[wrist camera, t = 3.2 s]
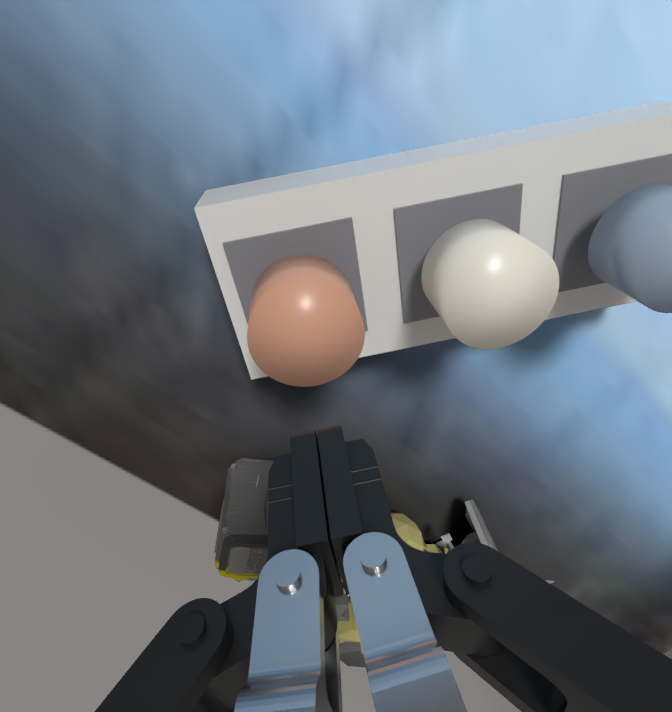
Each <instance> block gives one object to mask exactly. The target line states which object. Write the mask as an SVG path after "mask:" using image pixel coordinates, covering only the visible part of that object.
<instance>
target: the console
mask: <svg viewBox="0 0 672 712" xmlns="http://www.w3.org/2000/svg"><path fill="white" fill-rule="evenodd" d="M654 183H662V184H668V185H672V103H661V102H652V103H647V104H641V105H636V106H631V107H626V108H621V109H616V110H611V111H606V112H601V113H596V114H591V115H586V116H581V117H575V118H570V119H565V120H560V121H555V122H550V123H545V124H540V125H535V126H530V127H525V128H520V129H515V130H510V131H504V132H499V133H494V134H489V135H484V136H479V137H474V138H469V139H464V140H459V141H454V142H449V143H444V144H439V145H433V146H428V147H423V148H418V149H413V150H408V151H403V152H398V153H393V154H388V155H383V156H378V157H373V158H367V159H362V160H357V161H352V162H347V163H342V164H337V165H332V166H327V167H322V168H317V169H312V170H307V171H302V172H296V173H291V174H286V175H281V176H276V177H271V178H266V179H261V180H256V181H251V182H246V183H241V184H236V185H231V186H225V187H220V188H215V189H210V190H206V191H205V192H204V194H203V195H202V197H201V198H200V200H199V201H198V203H197V205H196V206H195V208H194V210H195V213H196V216H197V218H198V221H199V224H200V227H201V230H202V233H203V236H204V239H205V242H206V245H207V248H208V251H209V254H210V257H211V260H212V263H213V266H214V269H215V272H216V275H217V278H218V281H219V284H220V287H221V290H222V293H223V296H224V299H225V302H226V305H227V308H228V311H229V314H230V317H231V320H232V323H233V326H234V329H235V332H236V335H237V338H238V341H239V344H240V347H241V350H242V353H243V356H244V359H245V362H246V365H247V368H248V371H249V374H250V377H251V380H252V379H257V378H262V377H267V376H268V375H267V374H265V373H264V372H263V371H262V370H261V369H260V368H259V367H258V366H257V365H256V363H255V362H254V360H253V358H252V357H251V354H250V352H249V348H248V344H247V330H248V321H249V312H250V303H251V295H252V290H253V287H254V284H255V282H256V281H257V279H258V277H259V276H260V274H261V273H262V272H263V271H264V270H265V269H266V268H267V267H268V266H270V265H271V264H272V263H274V262H276V261H277V260H280V259H282V258H284V257H288V256H292V255H313V256H317V257H320V258H323V259H325V260H327V261H329V262H331V263H332V264H334V265H335V266H336V267H338V268H339V269H340V270H341V271H342V273H343V274H344V275H345V277H346V278H347V280H348V282H349V284H350V287H351V290H352V292H353V295H354V298H355V300H356V303H357V306H358V308H359V311H360V314H361V317H362V319H363V323H364V327H365V340H364V345H363V348H362V351H361V353H360V355H359V357H358V358H360V357H365V356H370V355H375V354H380V353H385V352H390V351H395V350H400V349H405V348H410V347H414V346H419V345H424V344H429V343H434V342H439V341H444V340H449V339H454V338H456V337H455V336H454V335H453V334H452V333H451V331H450V330H449V328H448V327H447V325H446V324H445V323H444V321H443V320H442V318H441V317H440V316H439V314H438V313H437V311H436V310H435V309H434V307H433V306H432V304H431V303H430V302H429V300H428V299H427V297H426V295H425V293H424V290H423V287H422V280H421V277H422V267H423V264H424V260H425V258H426V255H427V253H428V252H429V250H430V248H431V247H432V245H433V244H434V243H435V241H436V240H437V239H438V238H439V237H440V236H441V235H442V234H443V233H445V232H446V231H447V230H449V229H450V228H452V227H453V226H455V225H457V224H459V223H462V222H464V221H468V220H473V219H490V220H494V221H497V222H499V223H501V224H503V225H505V226H506V227H508V228H509V229H511V230H513V231H514V232H516V233H518V234H519V235H521V236H522V237H524V238H526V239H527V240H529V241H531V242H532V243H534V244H535V245H537V246H539V247H540V248H542V249H543V250H545V251H546V252H547V253H548V254H549V255H550V256H551V257H552V259H553V260H554V262H555V264H556V266H557V269H558V273H559V290H558V295H557V298H556V301H555V303H554V306H553V308H552V310H551V311H550V313H549V315H548V316H547V317H546V319H545V320H547V319H552V318H557V317H562V316H567V315H572V314H577V313H582V312H587V311H592V310H597V309H601V308H606V307H611V306H616V305H621V304H626V303H631V302H636V300H635V299H633V298H631V297H630V296H628V295H626V294H625V293H623V292H621V291H620V290H618V289H616V288H615V287H613V286H611V285H610V284H608V283H606V282H605V281H603V280H601V279H600V278H599V277H597V276H596V275H595V274H594V272H593V271H592V269H591V267H590V264H589V260H588V246H589V242H590V238H591V235H592V233H593V231H594V228H595V226H596V225H597V223H598V221H599V220H600V218H601V217H602V216H603V214H604V213H605V212H606V211H607V209H608V208H609V207H610V206H611V205H612V204H613V203H614V202H616V201H617V200H618V199H619V198H621V197H622V196H623V195H625V194H626V193H628V192H630V191H632V190H634V189H636V188H638V187H641V186H644V185H648V184H654Z"/></svg>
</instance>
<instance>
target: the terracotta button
mask: <svg viewBox="0 0 672 712" xmlns="http://www.w3.org/2000/svg"><path fill="white" fill-rule="evenodd" d="M364 340H365V327H364V323H363V319H362V317H361V314H360V311H359V308H358V306H357V303H356V300H355V298H354V295H353V292H352V290H351V287H350V284H349V282H348V280H347V278H346V277H345V275H344V274H343V273H342V271H341V270H340V269H339V268H338V267H336V266H335V265H334V264H332V263H331V262H329V261H327V260H325V259H323V258H320V257H317V256H313V255H292V256H288V257H284V258H282V259H280V260H277V261H276V262H274V263H272V264H271V265H270V266H268V267H267V268H266V269H265V270H264V271H263V272H262V273H261V274H260V276H259V277H258V279H257V281H256V282H255V284H254V287H253V290H252V295H251V303H250V312H249V321H248V330H247V344H248V348H249V352H250V354H251V357H252V358H253V360H254V362H255V363H256V365H257V366H258V367H259V368H260V369H261V370H262V371H263V372H264V373H265V374H267V375H268V376H269V377H271V378H273V379H274V380H276V381H279V382H281V383H284V384H287V385H292V386H300V387H309V386H317V385H321V384H325V383H327V382H330V381H332V380H334V379H336V378H338V377H340V376H341V375H343V374H344V373H345V372H346V371H348V370H349V369H350V368H351V367H352V366H353V365H354V363H355V362H356V360H357V359H358V357H359V355H360V353H361V351H362V348H363V345H364Z"/></svg>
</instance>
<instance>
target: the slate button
mask: <svg viewBox="0 0 672 712" xmlns="http://www.w3.org/2000/svg"><path fill="white" fill-rule="evenodd" d="M588 260H589V264H590V267H591V269H592V271H593V272H594V274H595V275H596V276H597V277H599V278H600V279H601V280H603V281H605V282H606V283H608V284H610V285H611V286H613V287H615V288H616V289H618V290H620V291H621V292H623V293H625V294H626V295H628V296H630V297H631V298H633V299H635V300H636V301H638V302H640V303H641V304H643V305H645V306H646V307H648V308H650V309H652V310H654V311H657V312H662V313H672V185H668V184H662V183H654V184H648V185H644V186H641V187H638V188H636V189H634V190H632V191H630V192H628V193H626V194H625V195H623V196H622V197H621V198H619V199H618V200H617V201H616V202H614V203H613V204H612V205H611V206H610V207H609V208H608V209H607V211H606V212H605V213H604V214H603V216H602V217H601V218H600V220H599V221H598V223H597V225H596V226H595V228H594V231H593V233H592V235H591V238H590V242H589V246H588Z"/></svg>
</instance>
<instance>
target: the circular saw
mask: <svg viewBox="0 0 672 712" xmlns="http://www.w3.org/2000/svg"><path fill="white" fill-rule="evenodd" d="M273 462H274V461H271V460H261V459H251V458H240V459H238V460H236V461H235V463H234V464H232V465H231V467H230V468H229V469H228V473H227V480H226V487H225V495H224V501H223V505H222V510H221V515H220V521H219V527H218V534H217V540H216V546H215V553H216V557H215V566H216V568H217V569H219V573H220V575H222V576H225V577H231V578H233V579H235V580H236V581H238V582H240V581H242V580H243V579H245V580H257V579H258V577H259V576H260V573H261V571H262V569H263V567H264V566H265V564H266V561H267V555H268V505H269V502H268V491H269V489H268V472H269V470H270V468H271V466H272V464H273ZM465 505H466V507H467V508H466V509H465V510H466V514H465V516H466V518H467V520H468V522H469V524H470V525H471V527H472V529H473V531H474V532H473V533H470V534H468V535H467V536H466V538H465V539H464V540H463V541H462V544H463V543H468V542H476V543H481V544H485V545H487V546H489V547H491V548H493V549H495V550H496V551H498V550H497V548H496V546H495V544H494V541H493V539H492V537H491V535H490V533H489V531H488V529H487V527H486V524H485V522H484V520H483V518H482V516H481V514H480V512H479V509H478V507H477V505H475V502H474V500H473V499H472V500H469V501H466V502H465ZM391 516H392V520H393V523H394V527H395V529H396V531H397V533H398V535H399V536H400V537H401V539H402V540H403V541H404V542H406V543H407V544H408V545H410V546H411V547H413V548H415V549H418V550H421V551H426V552H434V553H443V554H448V553H449V552H450V551H451V550H452V549H453V548H454V546H453V544H452V543H451V540H453V539H452V538H451V536H450V534H449V533H448V534H445V535H443V536H441V538H442V541H439V542H437V543H436V544H425V542H424V540H423V538H422V534H421V531H420V530H419V528H418V527H417V525H416V524H415V523H414V522H413V521H412V520H410V519H409V518H408V517H407V516H405V515H404V514H402V513H395V512H391ZM341 579H342V577H341ZM342 582H343V581H342ZM546 582H548V583H550V584H551V583H553V582H555V581H550V580H546ZM335 604H336V612H337V622H338V625H337V627H338V634H339V654H340V660H341V661H343V662H344V663H345V664H346V665H348V666H357V667H366V664H365V659H364V654H363V650H362V646H361V641H360V637H359V633H358V628H357V624H356V620H355V615H354V611H353V607H352V602H351V598H350V597H348V596H347V594H344V595H343V596H338V597H335ZM443 651H445V650H443Z"/></svg>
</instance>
